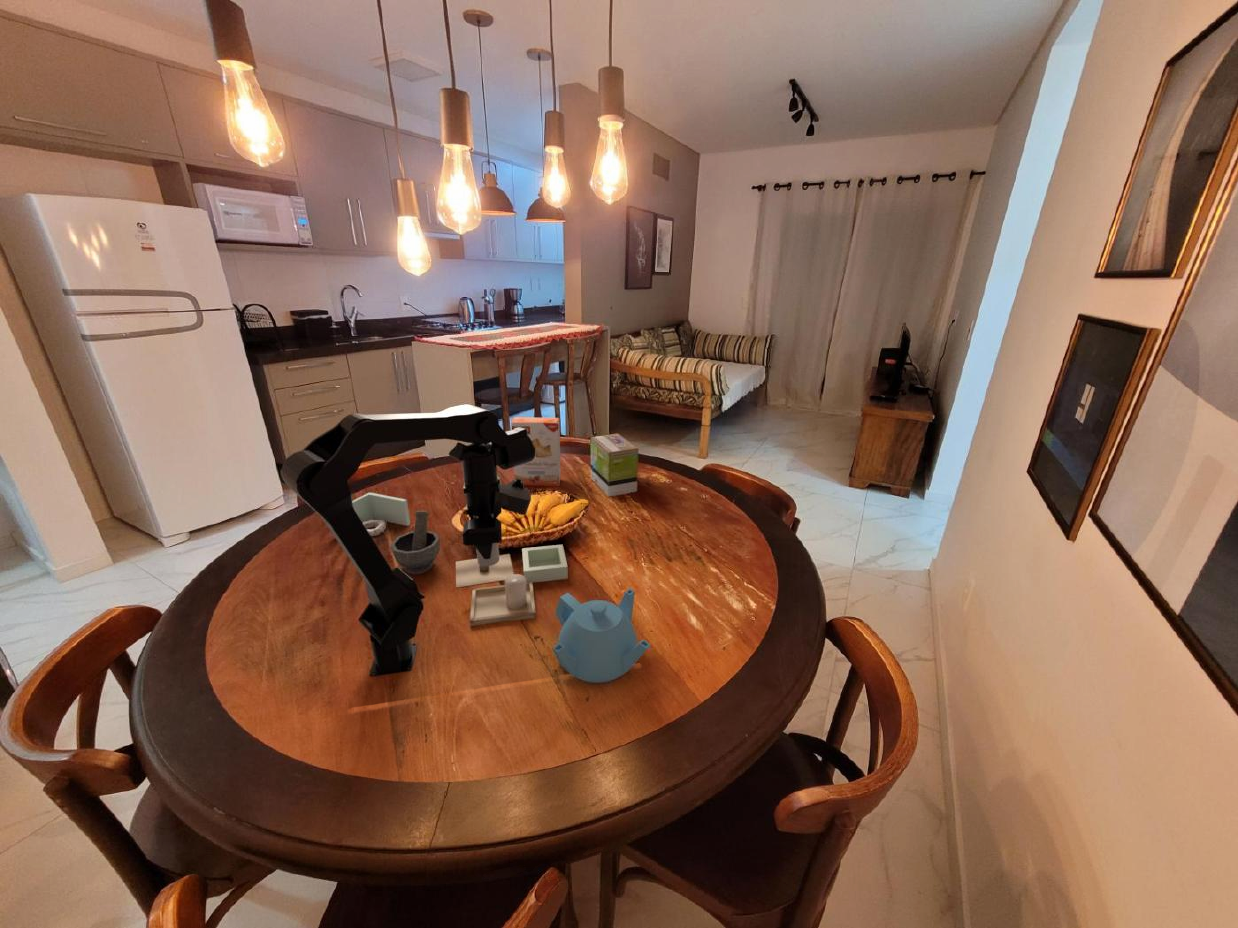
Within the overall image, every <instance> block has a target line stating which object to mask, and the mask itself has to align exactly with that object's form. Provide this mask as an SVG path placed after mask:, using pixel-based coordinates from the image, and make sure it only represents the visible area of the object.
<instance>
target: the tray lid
mask: <svg viewBox="0 0 1238 928" xmlns="http://www.w3.org/2000/svg"><path fill="white" fill-rule="evenodd" d="M512 563H513V562H512V558H511V554H510V553H507V554H506V553H505V554H499V561H498V563H496V564H494V565H492V566H481V565H479V564H478V561H477V558H472V559H465V560H459V561H455V589H459V588H465V587H471V586H477V585H483V584H490V583H496V582H503V581H504V582H505V579H506V578H507V577H508V576H510V575H513V574H515V573H514V569H513V564H512Z"/></svg>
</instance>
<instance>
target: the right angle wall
mask: <svg viewBox="0 0 1238 928" xmlns="http://www.w3.org/2000/svg"><path fill="white" fill-rule="evenodd" d="M352 502H353V508H354V510H355V512H356V513H357V515H358V517H359V518H360V520H361V521H362V523H363V525H364V526H365V528H366V529H367V531H368V533H369V534H370V536H371V537H375V536H380V535H381V533H384V532H385V530H386V526H387V524H386V522H389V523H393V524H398V525H401V526H407V527H408V526H410V525H411V519H410V512H409V506H408V500H407V499H405V498H399V497H395V496H389V495H386V494H378V493H374V492H367V493H365V494H364V495H362V496H360V497H359V496H358V498H355V499H354V500H353V499H352ZM374 527H375V528H374ZM370 528H371V529H370Z"/></svg>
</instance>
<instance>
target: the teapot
mask: <svg viewBox="0 0 1238 928" xmlns="http://www.w3.org/2000/svg"><path fill="white" fill-rule="evenodd" d="M635 593H636V590H635V589H631V588H628V589H627V590H626V591H624V595H623V596H622V597H621V600H620V601H619V602H620V603H619V604H618V606H617V604H615V603H612V602H610V601H609V600H602V599H601V600H600V599H593V600H588V601H586V602H584V603H581V602H579V601H578V600H577V599H576V598H575V597H574V596H573V595H572V594H570V593H569V592H566V593H565V594H563V595H561V596H560V597H559V600H558V603H557V607H556V608H555V609H556V610H555V612H554V614H555V616H556V618H557V619H558V622H559V624H560V625H561V630H560V632H559V636H558V638H557V644H556V645H555V646H554V647H553V648H552V651H553V653H554V656H555V658H556V659H557V661H558V663H559V665H560V667H562V668H563V669H564V670H565V671H566V672H567V673H568V674H570V675H571V676H572V677H573V678H576V679H578V680H580V681H583V682H586V683H591V684H603V683H608V682H611V681H614V680H616V679H618V678H620V677H622V676H623V675H625V674H627V672H628V671H629V670H631V668H633V666H634V665H635V664H636V663H637V662H638V660H639V659H640V658H641V657H642V656H643V655H644V654H645V652H646V651H647V650H648V649H649V648H650V647H651V645H652V644H651V643H650V642H648V641H646V640H645V639H641V641H639V640H638V637H637V632H636V630H635V628H634V626H633V623H632V621H633V613H634V603H635ZM638 641H639V642H638Z"/></svg>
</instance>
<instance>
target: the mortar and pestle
mask: <svg viewBox="0 0 1238 928" xmlns="http://www.w3.org/2000/svg"><path fill="white" fill-rule="evenodd" d="M429 514H430V513H429V512H428V511H427V510H417V511H415V513H414V515H415V523H414V527H413V528H414V530H413V531H409V532H406V533H403V534H401V535H399V536H397V537H395V539H394V540H393V541H392V542H391V543H390V546H391V547H390V548H391V553H392V554H393V556H394V559H395V560H396V563H398V565H400V566H401V567H403V569H404V572H405V573H406V574H409V575H410V574H411V575H419V574H424V573H426V572H428V571H430V570H431V569H432V568H433V566H434V565H435V563H434V561H435V559H436V558H437V556H438V554H439V553H440V549H441V541H440V540H441V539H440V537H439V535H438V534H437V532H436V531H435V532H434V531H430V530H428V517H429V516H430V515H429Z"/></svg>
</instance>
